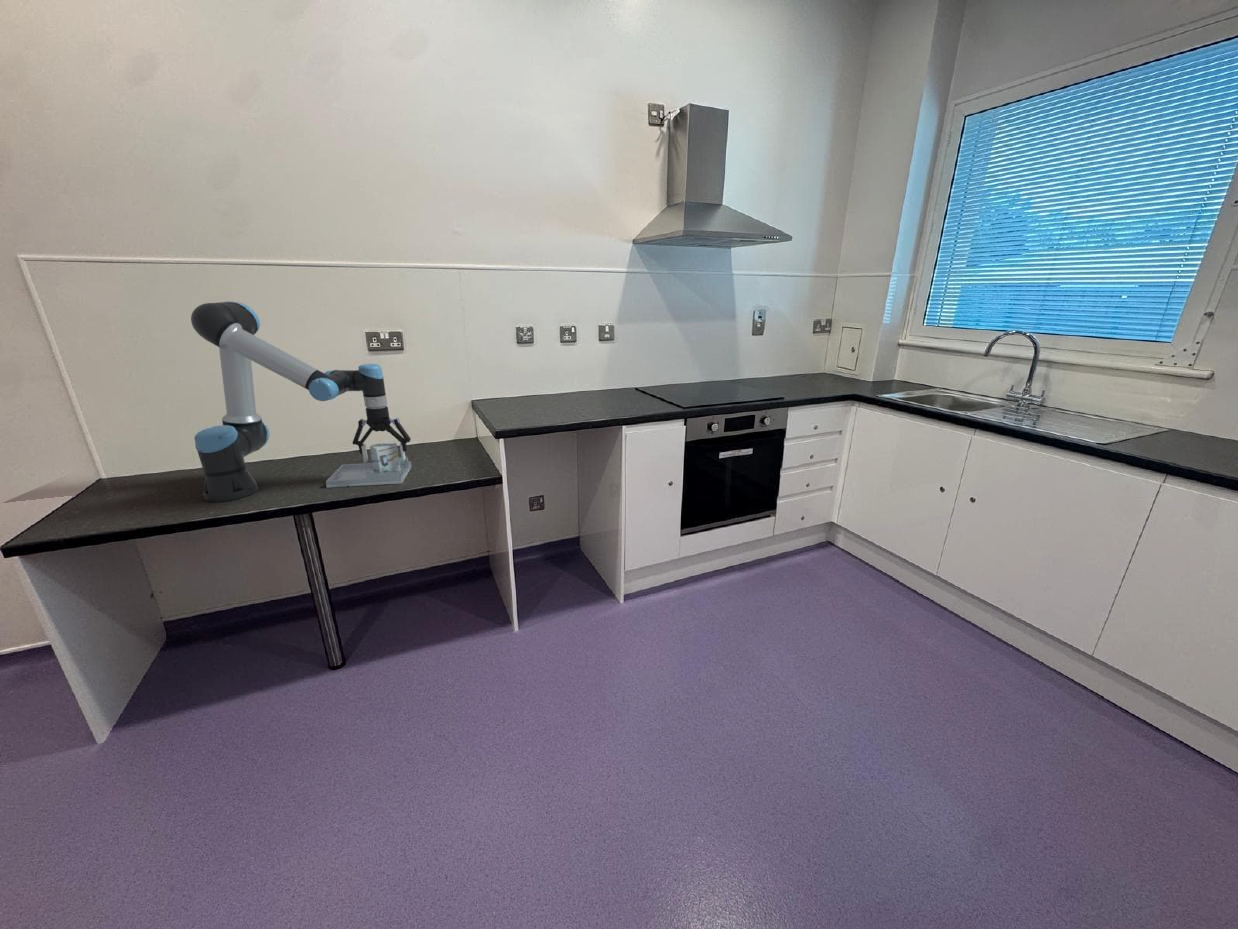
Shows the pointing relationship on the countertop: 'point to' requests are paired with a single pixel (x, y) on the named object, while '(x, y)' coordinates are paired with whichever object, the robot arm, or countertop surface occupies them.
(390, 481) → the keyhole tray
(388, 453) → the ink box
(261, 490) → the countertop surface
